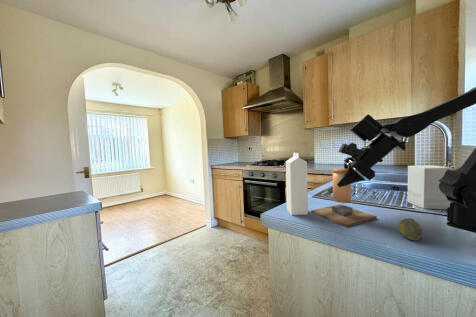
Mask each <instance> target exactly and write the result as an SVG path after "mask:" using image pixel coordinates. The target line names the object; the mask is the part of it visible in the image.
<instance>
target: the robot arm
mask: <svg viewBox="0 0 476 317" xmlns="http://www.w3.org/2000/svg"><path fill="white" fill-rule="evenodd" d="M474 105H476V86H475V87H472V88H471V89H469V90H468V91H466V92H464V93H462V94H460V95H457V96H455V97H453V98H451V99H448V100H445V101H444V102H441V103H439V104H437V105H435V106H432V107H431V108H428V109H426V110H424V111H422V112H419V113H415V114H411V115H409V116H405V117H403V118H399V119H395V120H393V121H392V122H391V123H385V124H381V123H380V122H378V121H377V120H376V119H375V118H373V116H372V115H370V114H369V113H368V114H366V115H365V116H364V117H363V118H361V119H360V120H359V121H358V122H356V123H355V124H354V125H353V126H352V127H351V128H350V129H349V130H350V131H351V133H353V134H354V135H355V136H356V137H357V138H359V139H360V140H361V141H363V142H366V141H368V142H370V143H369V144H368V145H366V146H364V147H361V148H358V145H357V143H355V142H354V143H353V142H350V143H348V144H347V143H342V144H341V146H340V148H339V149H338V153H341V154H342V155H347V157H346V158H344V159H343V161H344V162H343V168H346V169H348V172H347V173H346V174H345V175H344V177H343V178H342V179H341V180H340V181H339V183H338V184H337V185H338V186H339V187H342V186H345V185H349V184H351V185H352V184H355V183H359V182H362V181H366V179H367V181H368V182H370V181H371V180H373V179H374V178H375V177H376V171H374V169H372V168H373V167H374V166H376V165H377V164H378V163H382V162H383V161H384V158H386V156H388V155H389V154H390V153H391V152H392V151H394V150H395V149H397V150H398V151H406V149H407V148H406V143H407V142H406V140H405V141H404V140H401V141H400V140H399V139H398V138H410V137H414V136H416V135H417V134H419V133H420V132H422V131H423V130H426V128H428V127H429V126H430V125H432V124H434V123H435V122H437V121H439V120H442V119H444V118H446V117H449V116H452V115H453V114H455V113H457V112H460V111H462V110H463V111H464V110H465V109H468V108H470V107H471V106H474ZM387 134H390V135H387ZM438 181H440V184H439V189H440V191H441V192H442V193H443V194H444V195H445V196H446V198H447V200H448V201H451V202H452V203H450V207H448V208H447V209H446V221H447V222H446V223H445V224H446V225H447V226H451V227H453V228H458V229H462V230H467V231H469V232H470V231H471V232H474V233H476V147H475V148H474V149H473V150H472V152H471V154H470V155H469V156H468V157H467V159H466V160H465V161H464V163H463V164H462V165H461V167H459V168H457V169H456V170H454V169H453V170H447V171H446V172H445V174H444V176H443V177H442V178H441V179H440V180H438Z"/></svg>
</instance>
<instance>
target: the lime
mask: <svg viewBox="0 0 476 317" xmlns="http://www.w3.org/2000/svg"><path fill="white" fill-rule="evenodd" d="M398 231H399V233H401V234H402V236H404V237H405V238H406V239H408V240H411V241H418V240H419V239H420V238H421V237H422V235H423V229H422V227H421V225H420V223H419V222H418V221H416V220H415V219H413V218H404V219H402V220H400V221H399V222H398Z"/></svg>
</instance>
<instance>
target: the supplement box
mask: <svg viewBox="0 0 476 317" xmlns="http://www.w3.org/2000/svg"><path fill="white" fill-rule="evenodd" d="M447 170H454V167H449V166H441V165H433V164H432V165H430V164H429V165H427V164H426V165H407V199H406V200H407V201H406V202H407V203H409V204H410V205H411V204H412V205H414V206H416V207H419V208H421V209H423V210H427V209H428V210H431V209H432V210H447V208H448V207H450V203H452V202H451V201H448V200H447V198H446V196H445V195H444V194H443V193H442V192H441V191H440V189H439V184H440V181H438V180H440V179H441V178H442V177H443V176H444V174H445V172H446V171H447Z"/></svg>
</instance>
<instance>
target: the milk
mask: <svg viewBox="0 0 476 317" xmlns="http://www.w3.org/2000/svg"><path fill="white" fill-rule="evenodd" d="M285 176H286V177H285V184H286V186H285V187H286V210H287V212H288V213H290V215H291V216H302V215H304V216H306V215H308V214H309V205H308V204H309V201H308V200H309V198H308V197H309V196H308V193H309V191H308V162H307V161H306V160H305V159H302V158H300V154H299V153H298V152H293V154H292V157H290V158H288V159H287V160H285Z"/></svg>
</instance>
